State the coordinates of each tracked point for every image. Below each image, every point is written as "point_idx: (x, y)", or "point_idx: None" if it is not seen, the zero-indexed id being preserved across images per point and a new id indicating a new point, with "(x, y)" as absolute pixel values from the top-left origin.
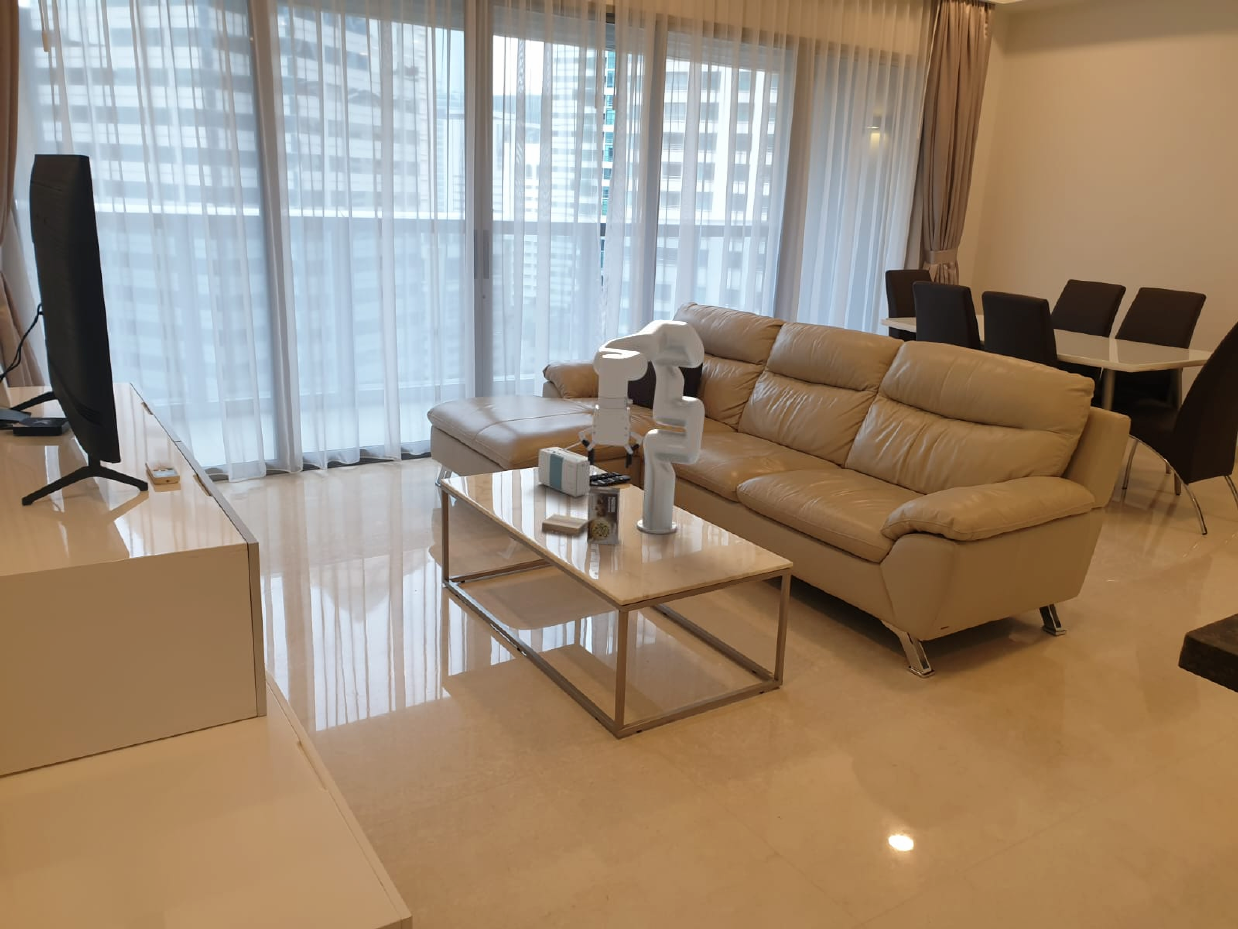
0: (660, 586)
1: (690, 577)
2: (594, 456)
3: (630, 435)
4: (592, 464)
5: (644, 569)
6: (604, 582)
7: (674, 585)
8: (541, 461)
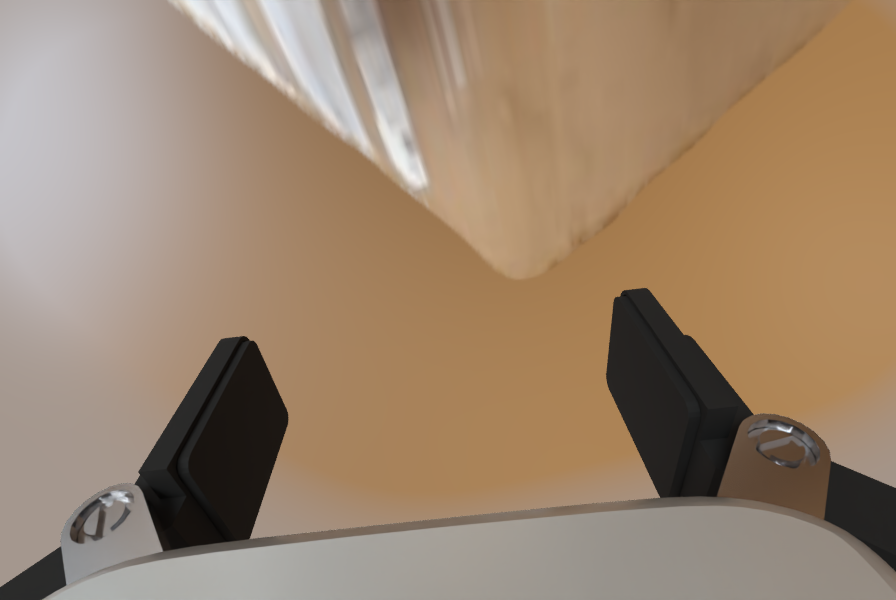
0: (617, 169)
1: (720, 52)
2: (228, 383)
3: None
4: (287, 421)
5: (556, 39)
6: (453, 201)
7: (660, 145)
8: None
